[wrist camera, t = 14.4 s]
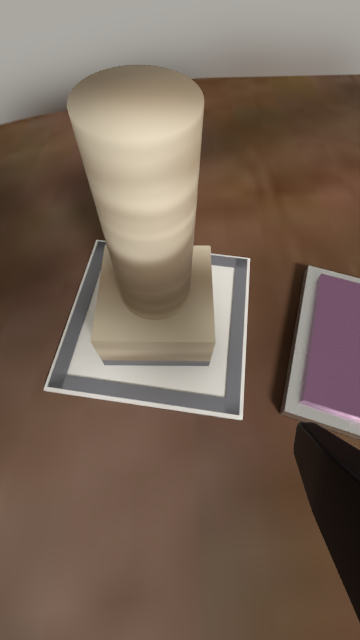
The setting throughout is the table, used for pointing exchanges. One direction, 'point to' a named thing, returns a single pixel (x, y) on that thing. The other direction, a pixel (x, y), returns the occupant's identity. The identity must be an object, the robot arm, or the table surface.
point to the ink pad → (326, 354)
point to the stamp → (146, 215)
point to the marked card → (161, 381)
